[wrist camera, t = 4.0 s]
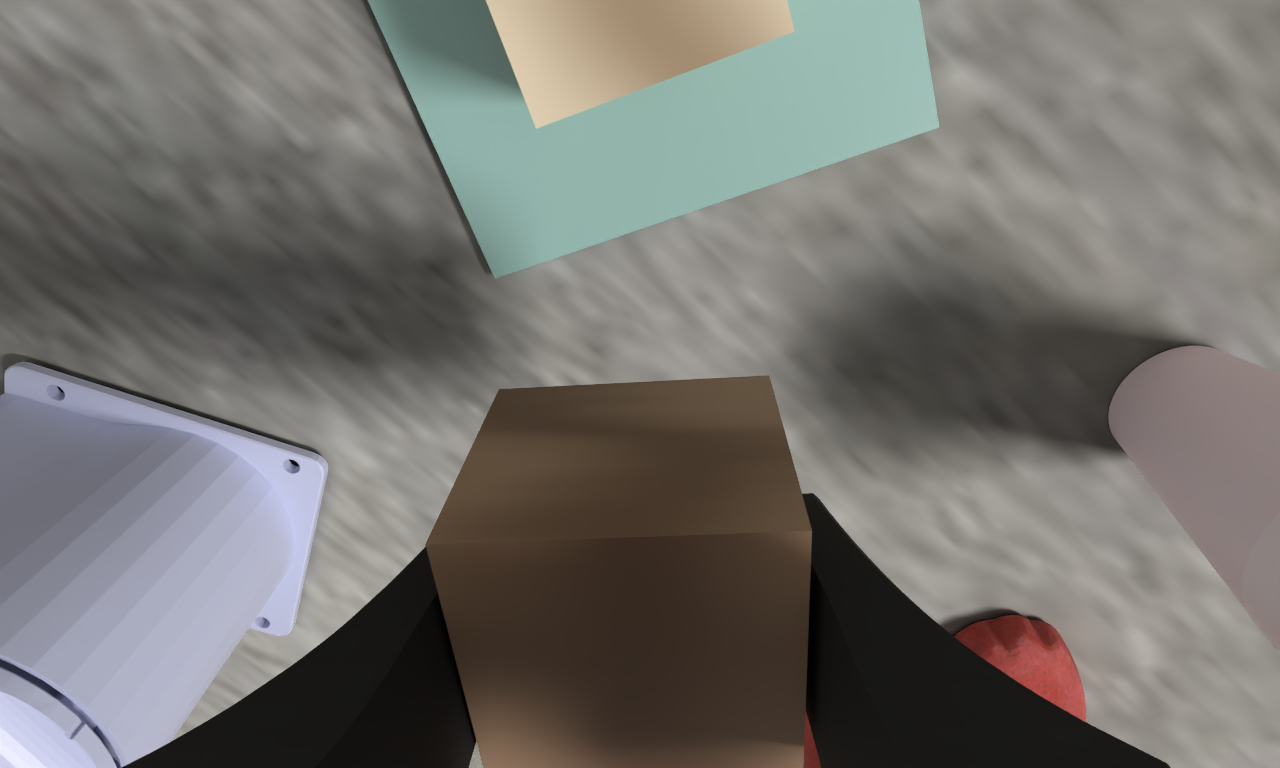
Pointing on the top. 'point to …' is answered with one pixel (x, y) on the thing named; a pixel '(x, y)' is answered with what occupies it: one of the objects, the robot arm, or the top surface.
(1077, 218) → the top surface
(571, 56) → the maple block
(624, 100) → the mat
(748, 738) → the walnut block
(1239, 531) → the smoothie
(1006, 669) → the stacking bear
